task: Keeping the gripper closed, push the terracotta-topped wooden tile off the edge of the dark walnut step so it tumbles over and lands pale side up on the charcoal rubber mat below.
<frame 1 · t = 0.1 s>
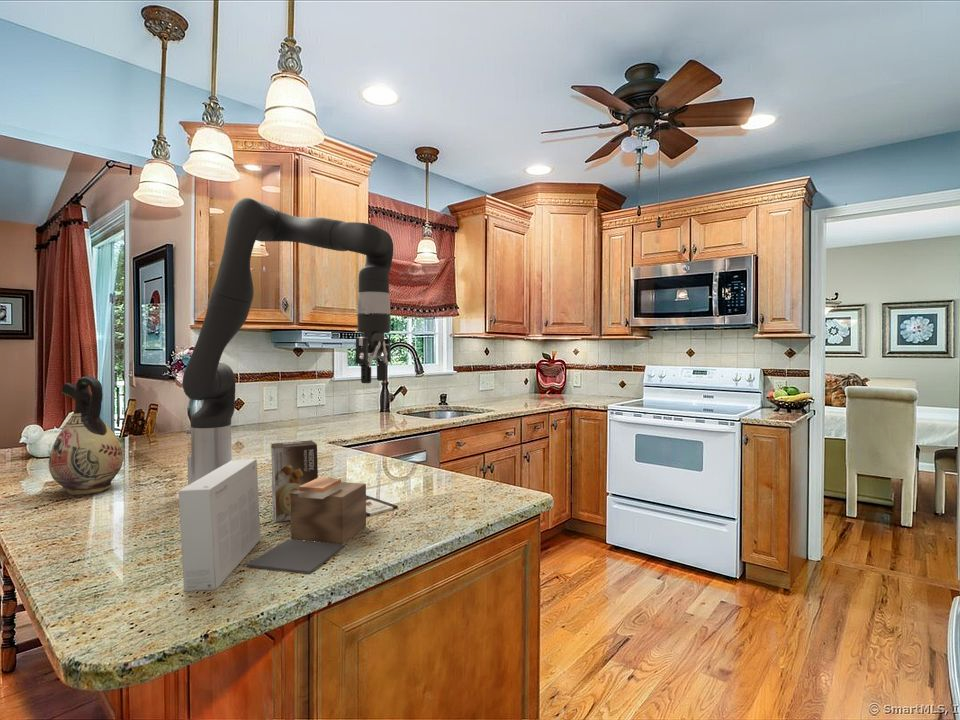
hand: (374, 381, 123), 29 cm above the worktop, tool pointing down, fingers open, 8 cm apart
chocolate bar: (359, 506, 124), on the worktop
tile: (320, 493, 101), point 9 cm above the worktop, touching step
skincare box: (224, 564, 90), on the worktop
step: (329, 532, 105), on the worktop
mat: (298, 556, 93), on the worktop
ceramic jug: (89, 491, 135), on the worktop
coffee box: (295, 516, 116), on the worktop
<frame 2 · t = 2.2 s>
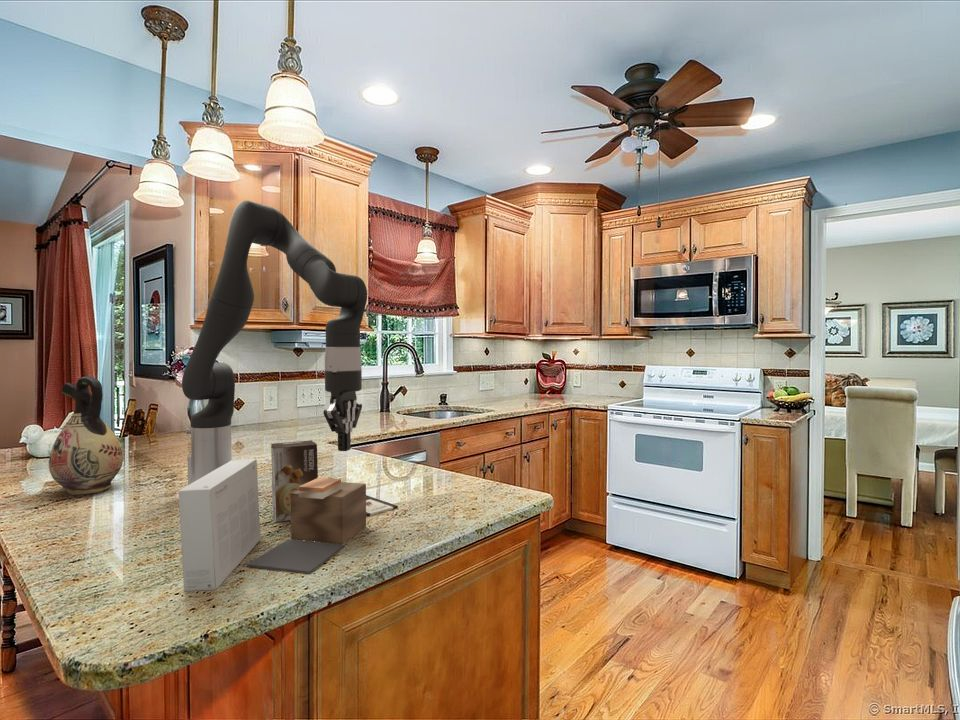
hand: (344, 450, 110), 15 cm above the worktop, tool pointing down, fingers closed
nothing on the worktop moved.
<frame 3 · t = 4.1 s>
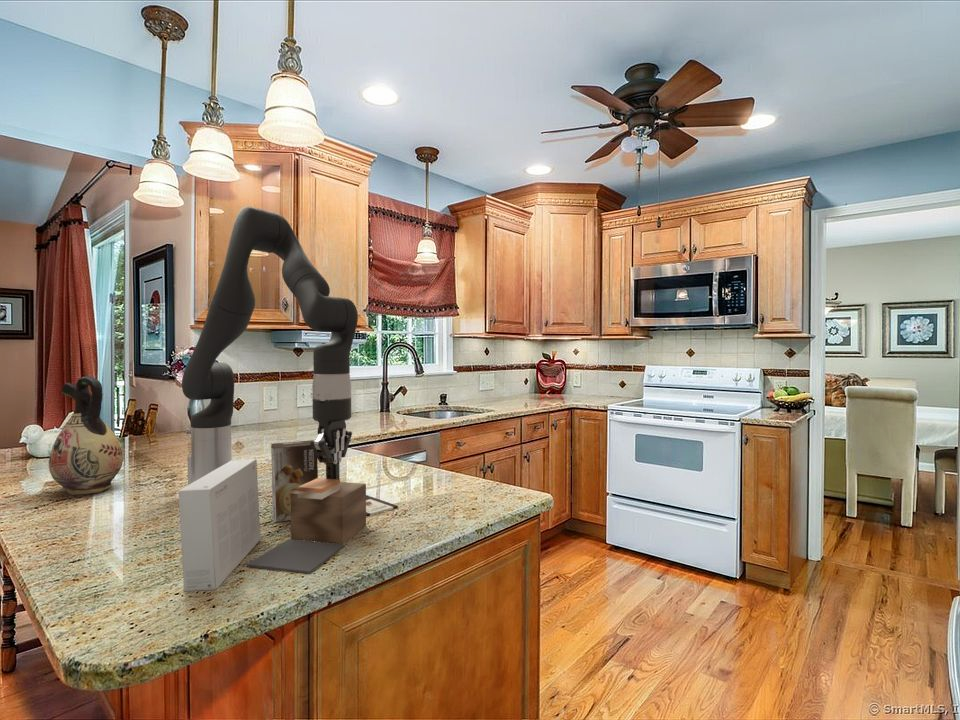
hand: (332, 481, 106), 10 cm above the worktop, tool pointing down, fingers closed
tile: (319, 493, 101), point 9 cm above the worktop, touching gripper
everything else where it was.
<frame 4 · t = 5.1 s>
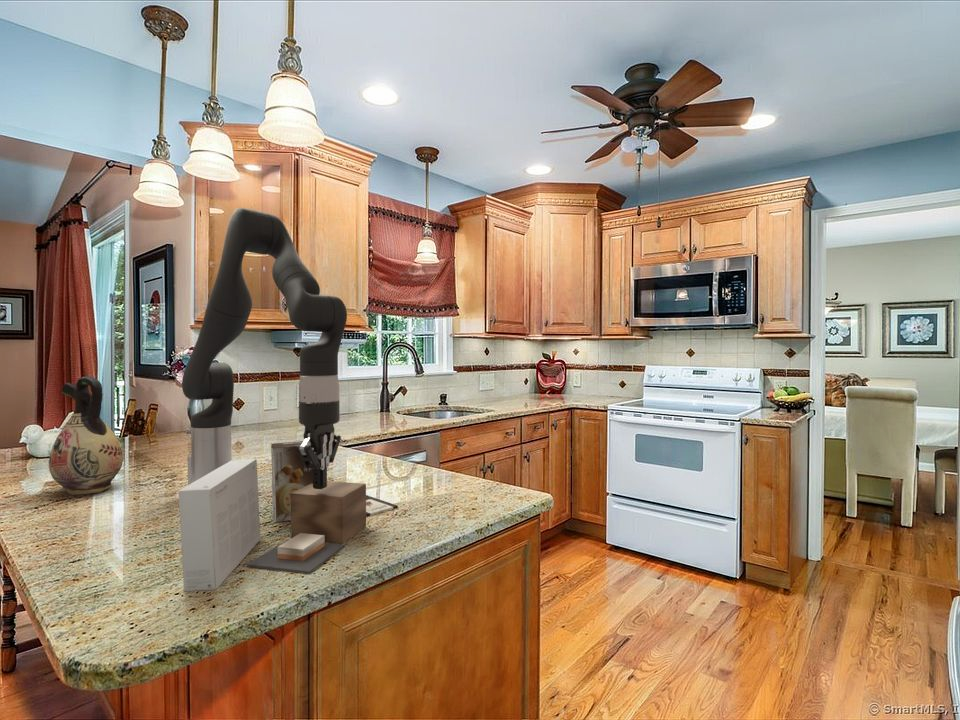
hand: (319, 488, 101), 10 cm above the worktop, tool pointing down, fingers closed
tile: (301, 540, 94), point 2 cm above the worktop, tilted 180°, touching mat
everything else where it was.
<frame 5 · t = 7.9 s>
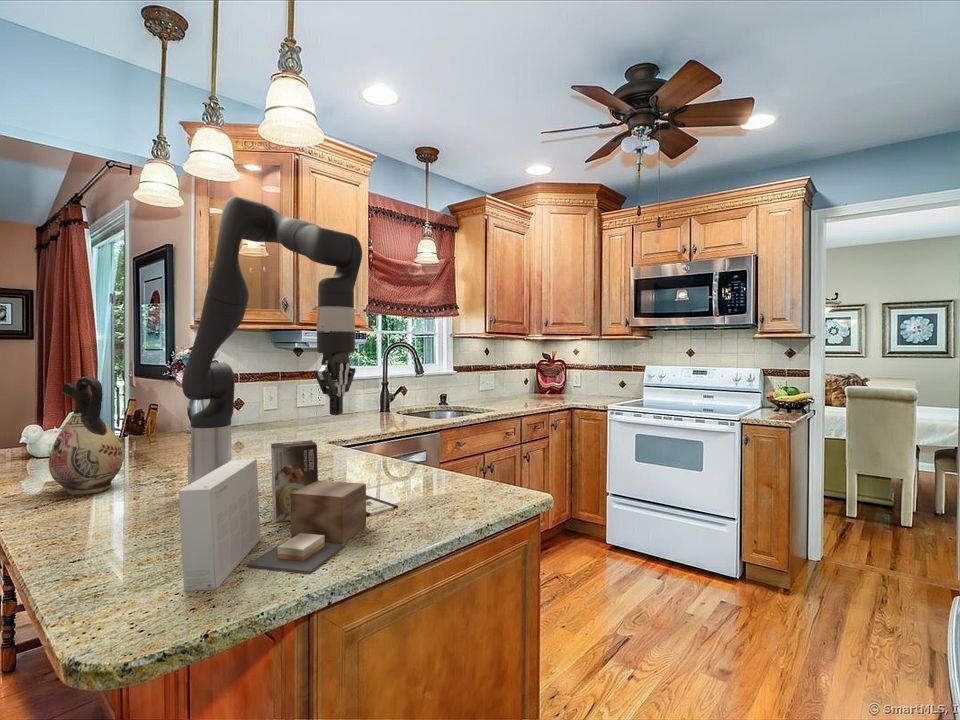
hand: (336, 414, 107), 24 cm above the worktop, tool pointing down, fingers closed
nothing on the worktop moved.
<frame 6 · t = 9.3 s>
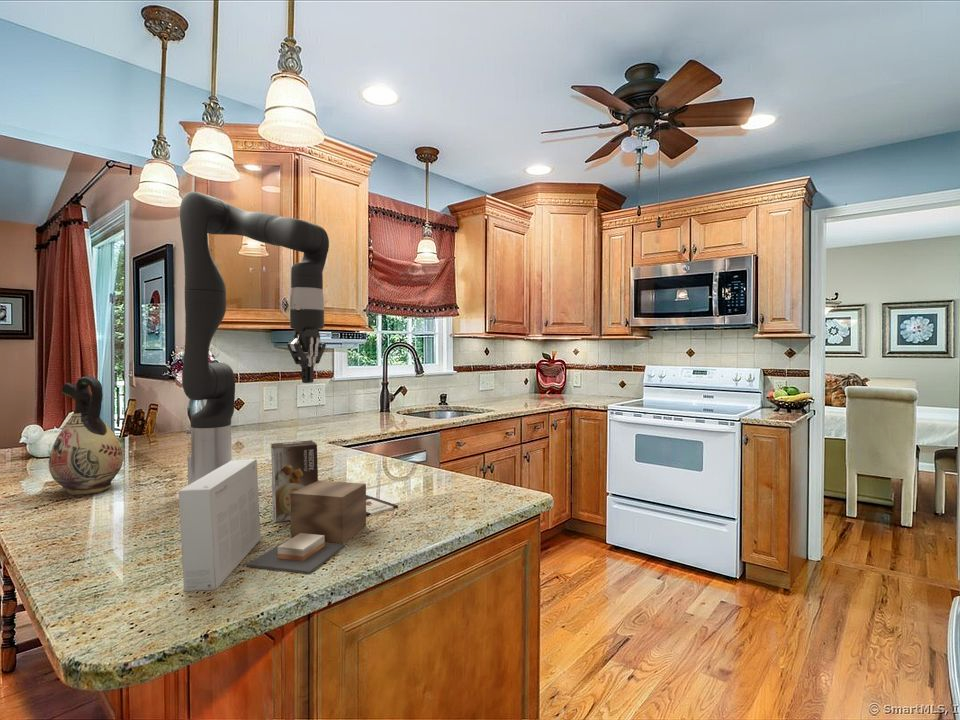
hand: (307, 382, 122), 29 cm above the worktop, tool pointing down, fingers closed
nothing on the worktop moved.
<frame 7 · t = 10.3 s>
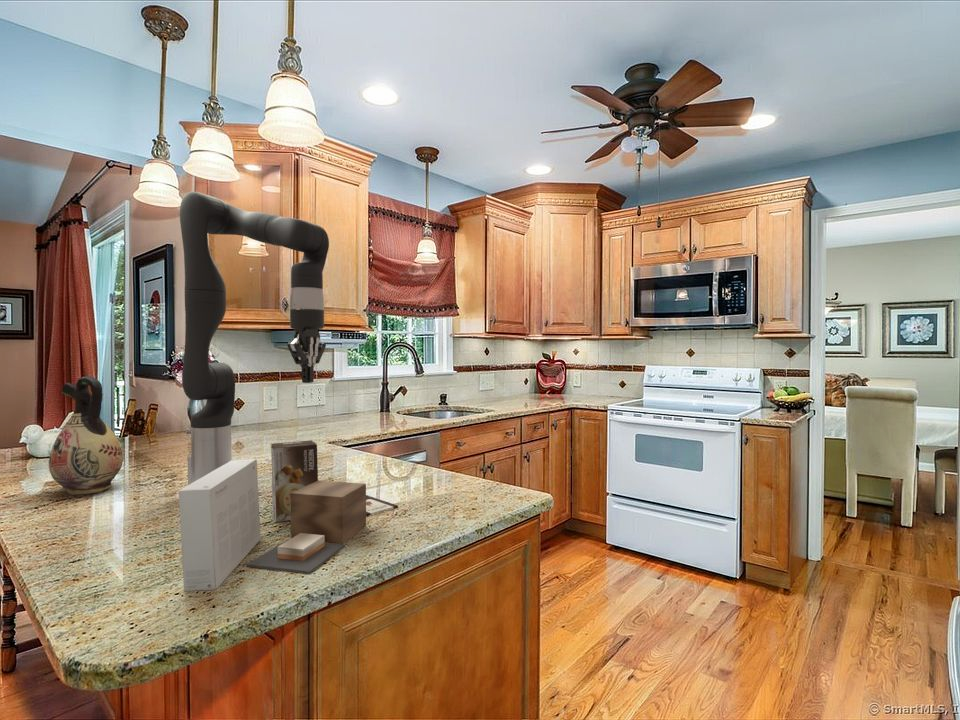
hand: (307, 382, 122), 29 cm above the worktop, tool pointing down, fingers closed
nothing on the worktop moved.
at the end: tile tilted 180°; tile inside the target area (4.5 cm from its centre), point 2.4 cm above the worktop; the gripper is holding nothing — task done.
